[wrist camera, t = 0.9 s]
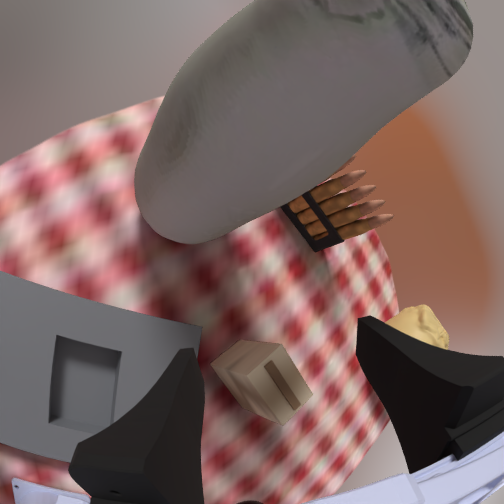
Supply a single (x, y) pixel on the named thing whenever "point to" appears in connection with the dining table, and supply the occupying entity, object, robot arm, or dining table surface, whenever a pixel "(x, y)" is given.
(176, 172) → the grey bottle
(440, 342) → the sculpture
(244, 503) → the supplement bottle
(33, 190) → the dining table surface
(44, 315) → the slot board
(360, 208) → the ammunition clip
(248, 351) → the peg
